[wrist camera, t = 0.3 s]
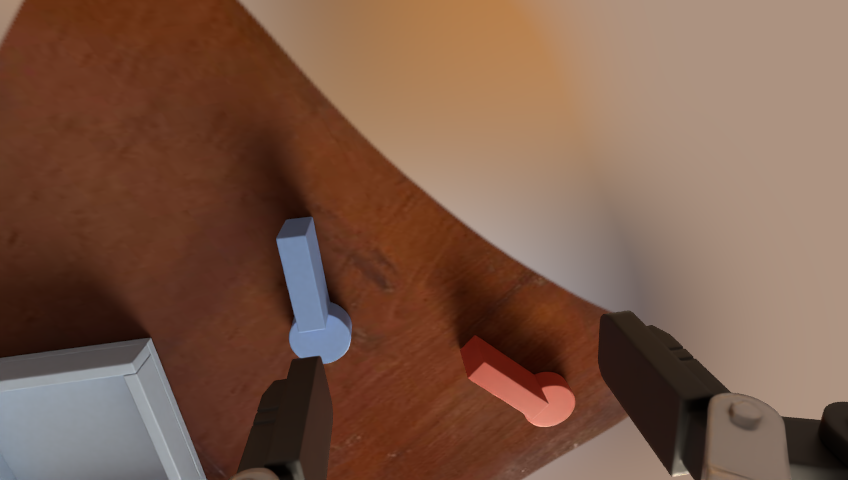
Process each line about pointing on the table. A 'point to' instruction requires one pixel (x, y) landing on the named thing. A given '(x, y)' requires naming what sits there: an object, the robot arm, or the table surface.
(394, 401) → the table surface
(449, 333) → the table surface
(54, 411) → the blue tray
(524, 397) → the red disc with bar
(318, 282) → the blue spoon
